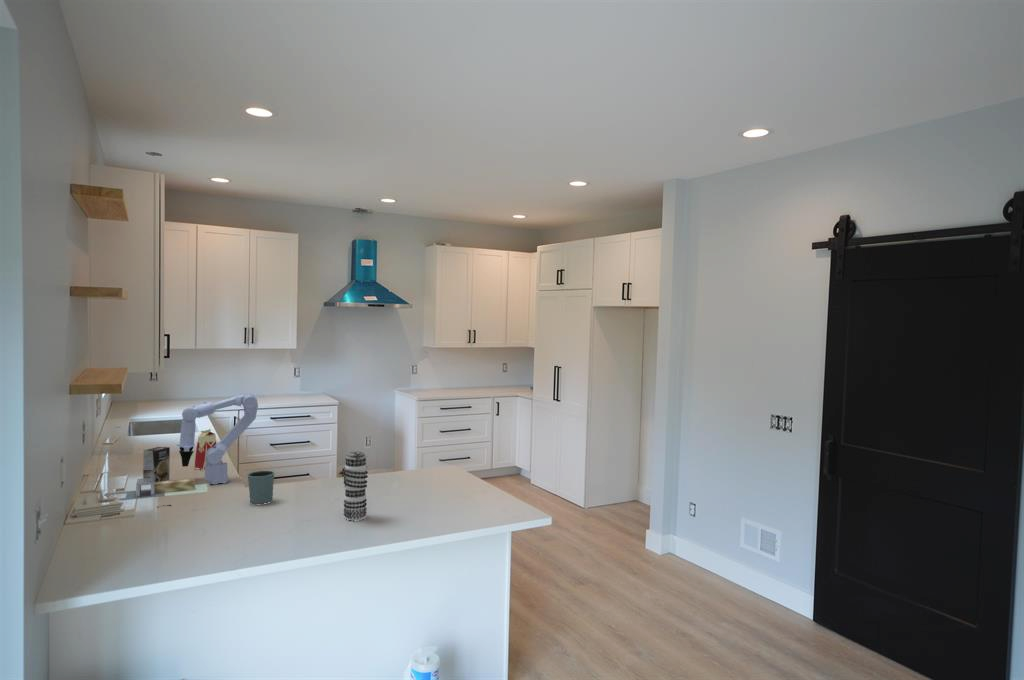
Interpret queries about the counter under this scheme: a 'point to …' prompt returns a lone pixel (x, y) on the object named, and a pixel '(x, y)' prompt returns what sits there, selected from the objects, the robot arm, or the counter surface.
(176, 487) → the oak bar
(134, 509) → the counter surface
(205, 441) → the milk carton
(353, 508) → the striped cylindrical tower
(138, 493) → the tunnel
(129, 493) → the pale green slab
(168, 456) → the coffee box
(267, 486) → the green cup
